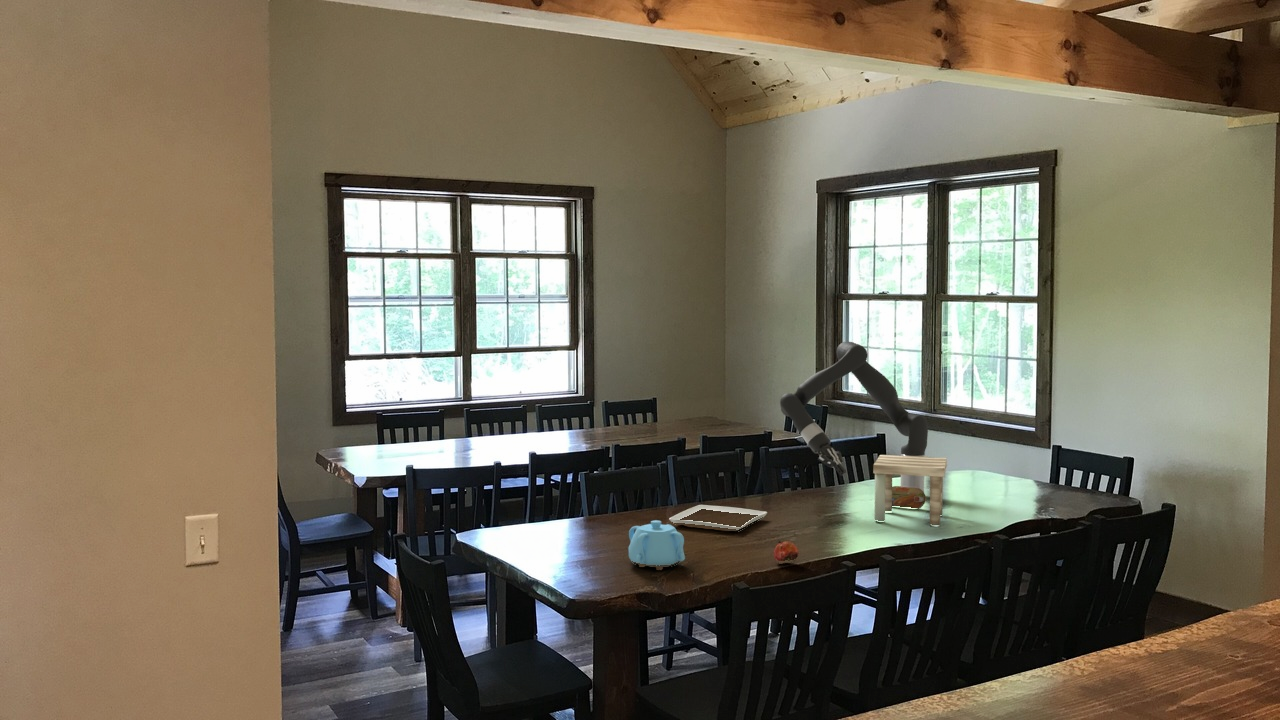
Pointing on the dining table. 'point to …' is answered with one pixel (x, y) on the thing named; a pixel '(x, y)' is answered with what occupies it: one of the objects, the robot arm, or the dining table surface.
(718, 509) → the square plate
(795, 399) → the robot arm
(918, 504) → the tin
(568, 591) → the dining table surface
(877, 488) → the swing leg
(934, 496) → the stool
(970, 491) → the dining table surface
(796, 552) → the pomegranate
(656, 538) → the decorative pot
